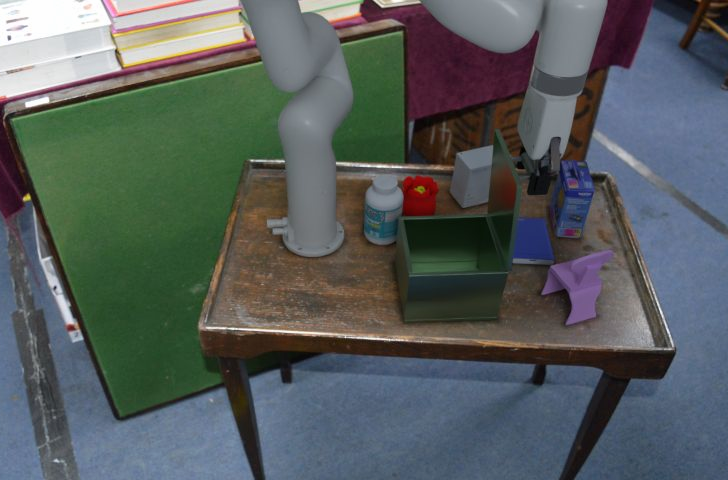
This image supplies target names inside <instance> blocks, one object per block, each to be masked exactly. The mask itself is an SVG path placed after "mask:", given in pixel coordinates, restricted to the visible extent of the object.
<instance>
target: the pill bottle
mask: <svg viewBox="0 0 728 480" xmlns="http://www.w3.org/2000/svg"><path fill="white" fill-rule="evenodd" d="M364 195H365V196H364V216H363V217H364V218H363V221H364V222H363V234H364V237H365V238H366V240H368V241H369V242H370V243H372V244H375V245H378V246H388V245H392V244H394V243H395V242H397V231H398V219H399V217H403V214H402V209H403V192H402V189H401V187H399V186H398V180H397V178H396V177H395V175H394V176H393V175H391V174H388V173H387V174H386V173H383V174H382V173H381V174H378V175H376V176H375V177H374V178H373V180H372V185H370V186H369V187H368V188H367V189H366V192H365V194H364Z"/></svg>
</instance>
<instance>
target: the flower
mask: <svg viewBox="0 0 728 480" xmlns="http://www.w3.org/2000/svg"><path fill="white" fill-rule="evenodd" d="M401 185H402V187H400V189H401V190H402V192H403V209H402V216H404V217H407V216H434V215H435V213H436V210H437V195H438V193H439V192H440V188H439V187H438V183H437V181H434V178H433V177H431V176H421V175H420V174H417V175H415V177H414V178H413V177H412V176H411V175H408V176H406V177H404V179H403V182H402V183H401Z"/></svg>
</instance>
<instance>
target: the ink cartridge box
mask: <svg viewBox="0 0 728 480" xmlns="http://www.w3.org/2000/svg"><path fill="white" fill-rule="evenodd" d="M595 191H596V188H595V185H594V180H593V179H592V176H591V172H590V169H589V165H588V162H587V161H585V160H573V159H572V158H571V160H560V170H559V171H558V172H557V176H556V180H555V184H554V187H553V192H552V196H551V198H550V202H549V207H548V208H549V214H550V219H551V224H552V227H553V228H552V230H553V234H554V237H558V238H569V239H581V238H582V237H583V233H584V229H585V226H586V222H587V219H588V216H589V212H590V209H591V206H592V202H593V198H594V196H595Z"/></svg>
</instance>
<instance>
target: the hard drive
mask: <svg viewBox="0 0 728 480" xmlns="http://www.w3.org/2000/svg"><path fill="white" fill-rule="evenodd" d="M554 256H555V254H554V252H553V248H552V243H551V238H550V234H549V230H548V226H547V221H546V219H545V218H535V217H518V225H517V233H516V240H515V248H514V255H513V263H512V264H519V265H523V264H524V265H543V266H552V265H555V261H556V260H555V257H554Z"/></svg>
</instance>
